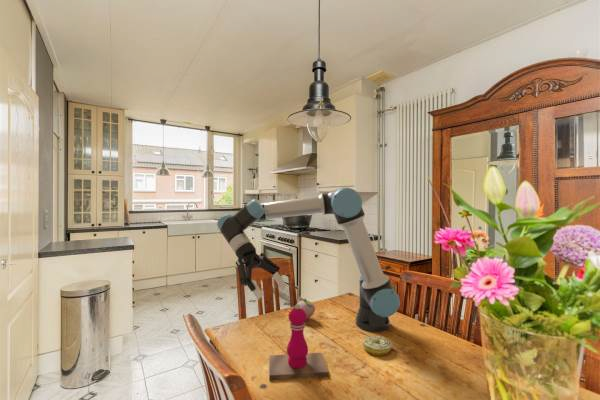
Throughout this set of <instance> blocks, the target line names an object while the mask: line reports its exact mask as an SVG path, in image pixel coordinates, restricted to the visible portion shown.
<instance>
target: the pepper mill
mask: <svg viewBox="0 0 600 400" xmlns="http://www.w3.org/2000/svg"><path fill="white" fill-rule="evenodd" d="M306 320H307V319H306V313H305V311H304V310H303V309H301V308H300V305H299V304H298V303H296V304H295V305H294V308H292V309H291V310H290V311H289V314H288V321H289V322H290V323H289V325H290V326H289V329H290V330H291V335H290V339H289V342H288V343H287V346H286V355H288V356H289V357H288V364H289V366H291V367H293V368H302V367H304V366H305V365H306V363H307V358H306V355H307V354H308V353H309V347H308V343H307V341H306V338H305V335H304V329H305V328H306V326H305V325H306V323H305V322H306Z"/></svg>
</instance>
